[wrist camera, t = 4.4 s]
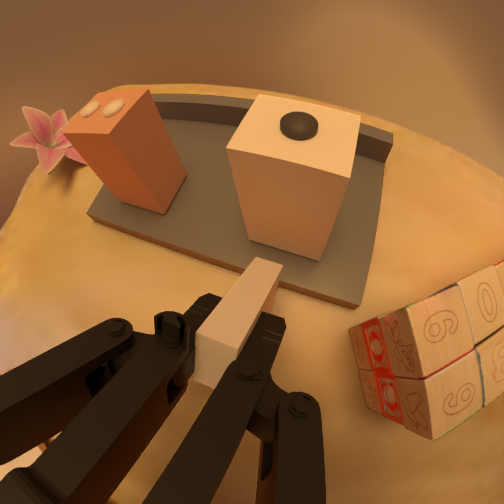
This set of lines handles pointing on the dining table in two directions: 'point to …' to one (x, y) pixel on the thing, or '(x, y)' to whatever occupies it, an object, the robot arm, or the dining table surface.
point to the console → (229, 211)
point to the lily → (47, 138)
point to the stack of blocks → (436, 355)
